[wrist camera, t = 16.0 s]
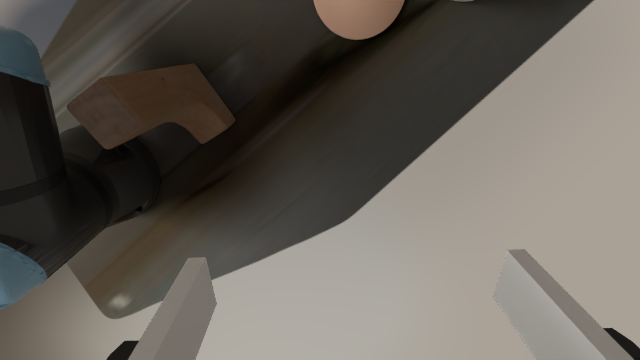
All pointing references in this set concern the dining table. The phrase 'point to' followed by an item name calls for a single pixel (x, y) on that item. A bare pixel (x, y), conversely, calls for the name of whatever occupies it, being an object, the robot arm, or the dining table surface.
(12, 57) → the robot arm
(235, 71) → the dining table surface
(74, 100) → the wooden block
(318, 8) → the pink coaster
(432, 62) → the dining table surface
